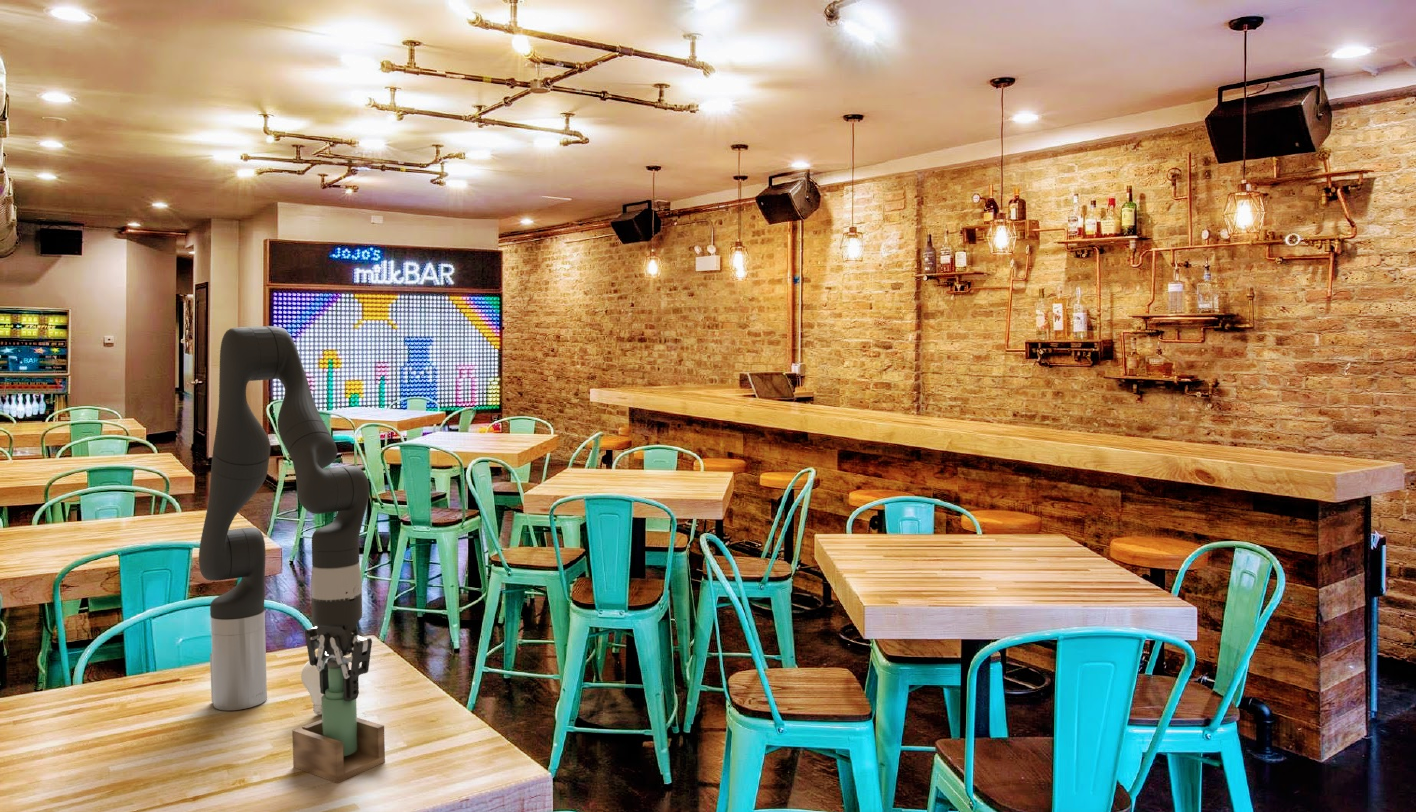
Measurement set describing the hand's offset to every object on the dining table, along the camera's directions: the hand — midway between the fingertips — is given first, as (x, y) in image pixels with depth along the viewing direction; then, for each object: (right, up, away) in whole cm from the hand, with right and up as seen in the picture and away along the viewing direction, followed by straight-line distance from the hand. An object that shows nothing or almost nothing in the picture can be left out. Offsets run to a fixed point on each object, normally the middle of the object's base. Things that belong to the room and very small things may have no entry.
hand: (339, 695), depth 154 cm
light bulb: (-12, -10, +22) cm, 27 cm away
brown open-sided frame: (0, -11, +1) cm, 11 cm away
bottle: (0, -9, 0) cm, 9 cm away
